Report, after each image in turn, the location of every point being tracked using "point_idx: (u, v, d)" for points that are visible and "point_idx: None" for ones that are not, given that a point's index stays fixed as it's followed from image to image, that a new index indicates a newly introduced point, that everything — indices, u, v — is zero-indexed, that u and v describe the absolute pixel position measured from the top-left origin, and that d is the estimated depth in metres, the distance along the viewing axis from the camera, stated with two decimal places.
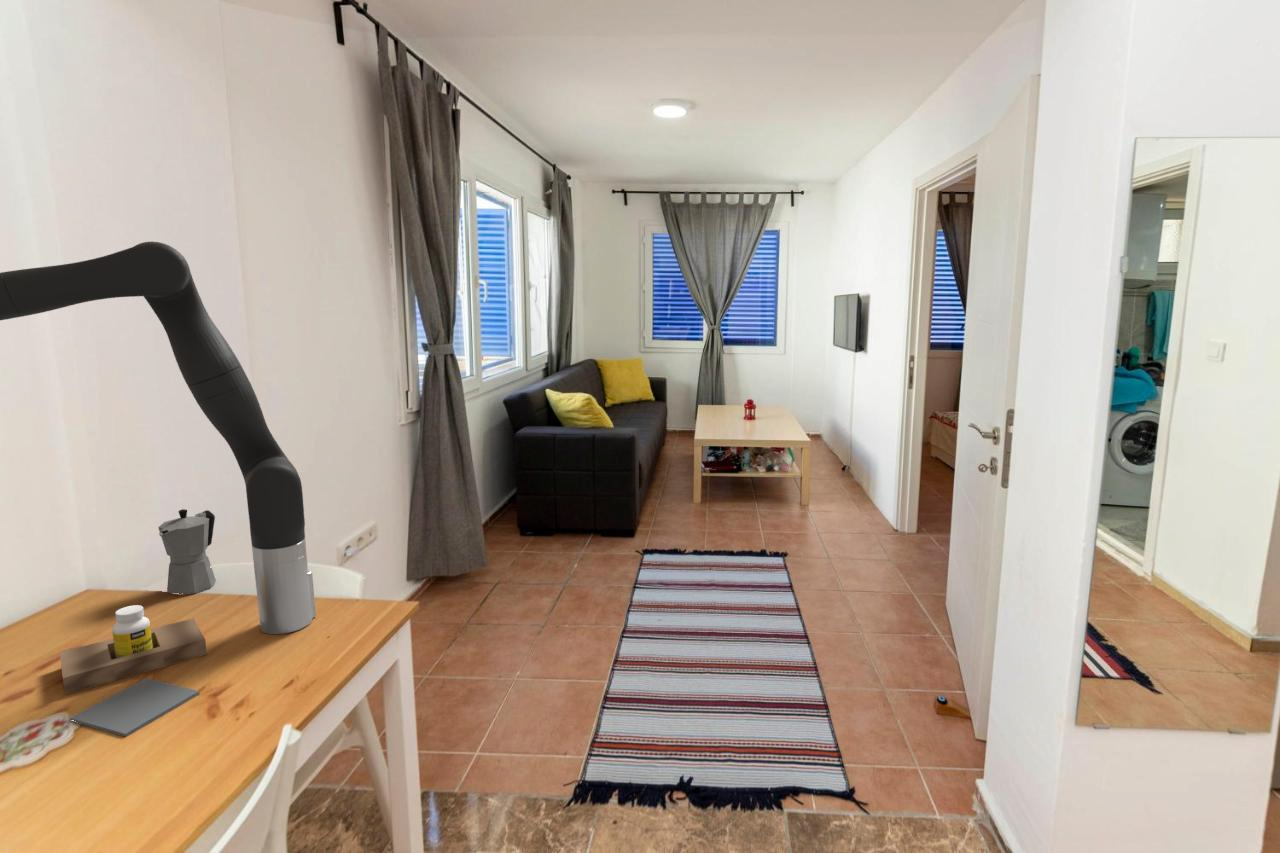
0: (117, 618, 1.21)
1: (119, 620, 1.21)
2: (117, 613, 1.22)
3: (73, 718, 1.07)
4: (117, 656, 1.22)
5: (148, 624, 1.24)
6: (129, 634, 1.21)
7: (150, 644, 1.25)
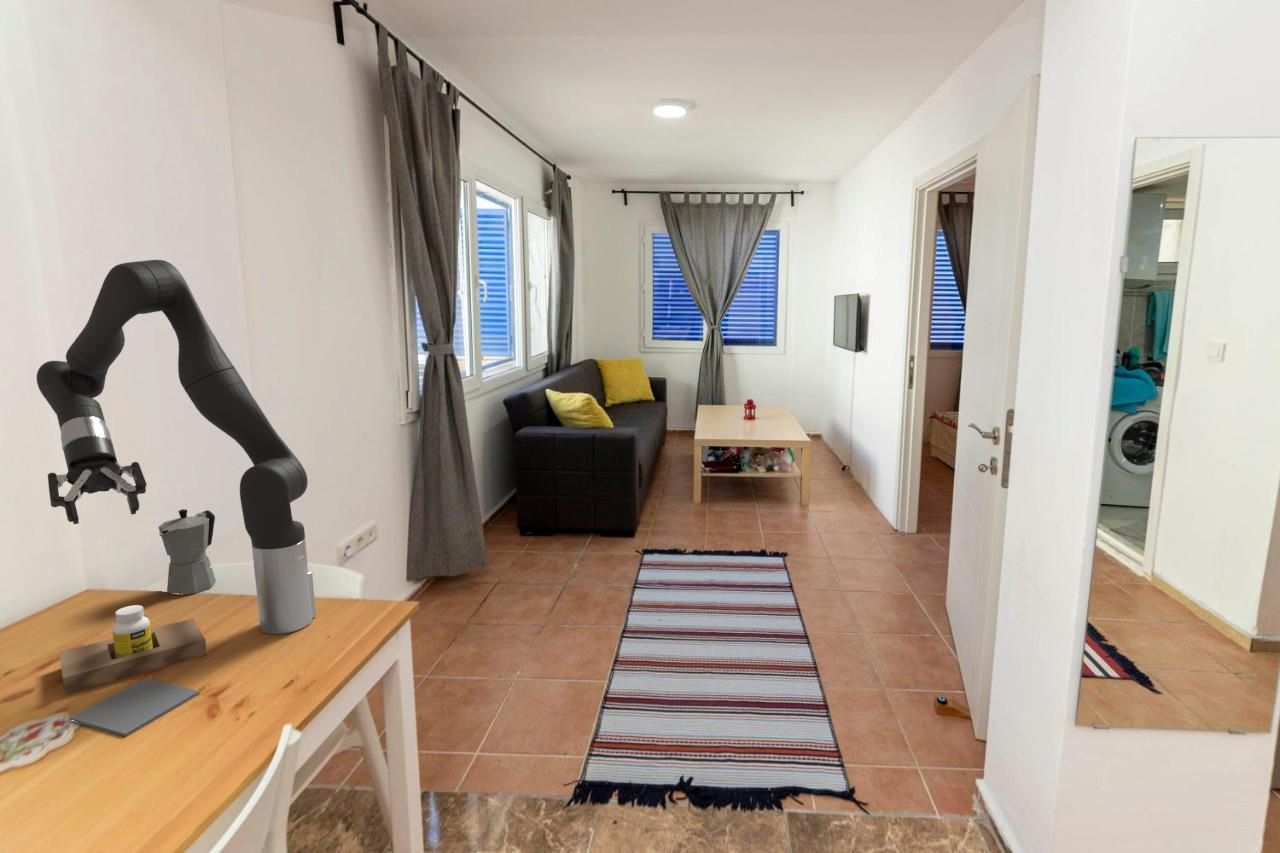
0: (117, 618, 1.21)
1: (119, 620, 1.21)
2: (117, 613, 1.22)
3: (73, 718, 1.07)
4: (117, 656, 1.22)
5: (148, 624, 1.24)
6: (129, 634, 1.21)
7: (150, 644, 1.25)
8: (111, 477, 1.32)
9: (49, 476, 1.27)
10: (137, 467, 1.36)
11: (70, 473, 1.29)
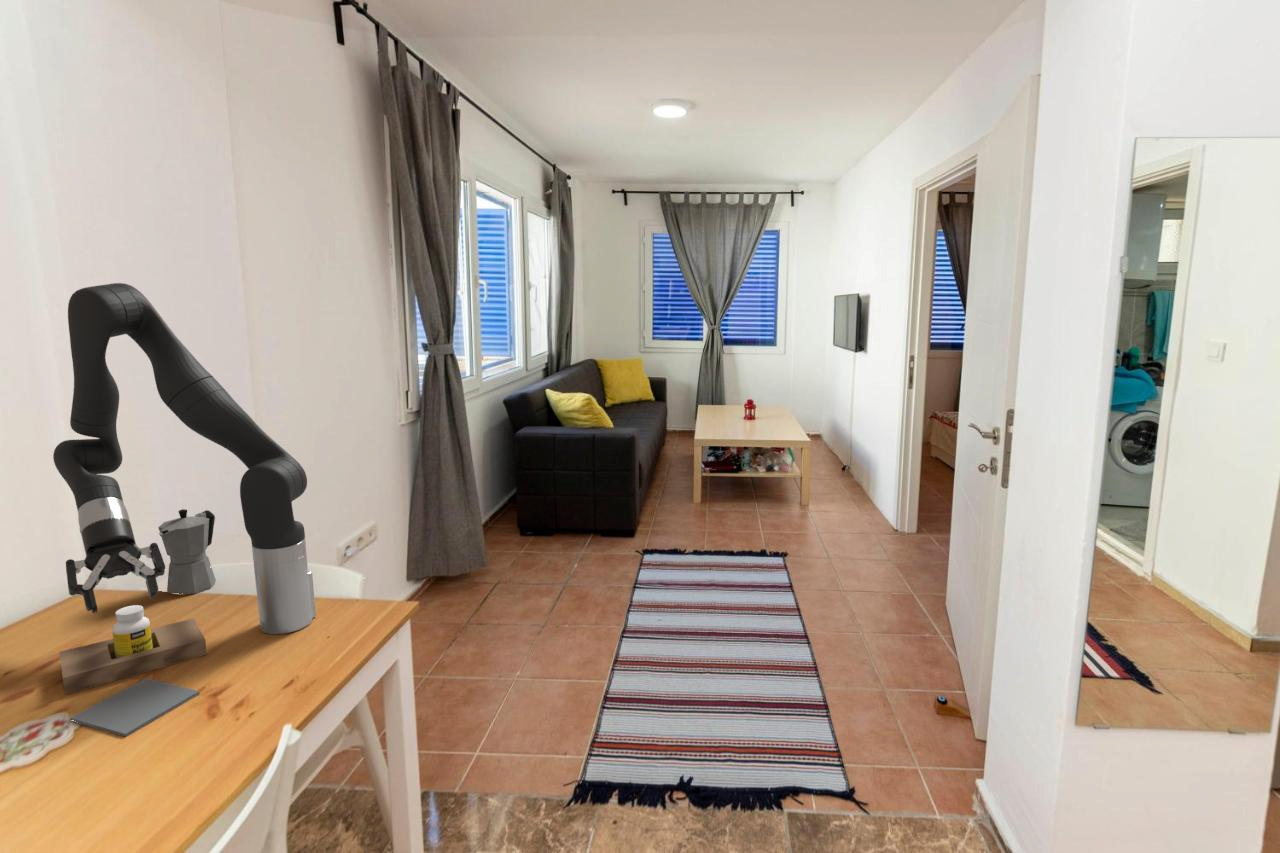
0: (117, 618, 1.21)
1: (119, 620, 1.21)
2: (117, 613, 1.22)
3: (73, 718, 1.07)
4: (117, 656, 1.22)
5: (148, 624, 1.24)
6: (129, 634, 1.21)
7: (150, 644, 1.25)
8: (129, 561, 1.29)
9: (67, 563, 1.24)
10: (156, 548, 1.33)
11: (88, 559, 1.26)
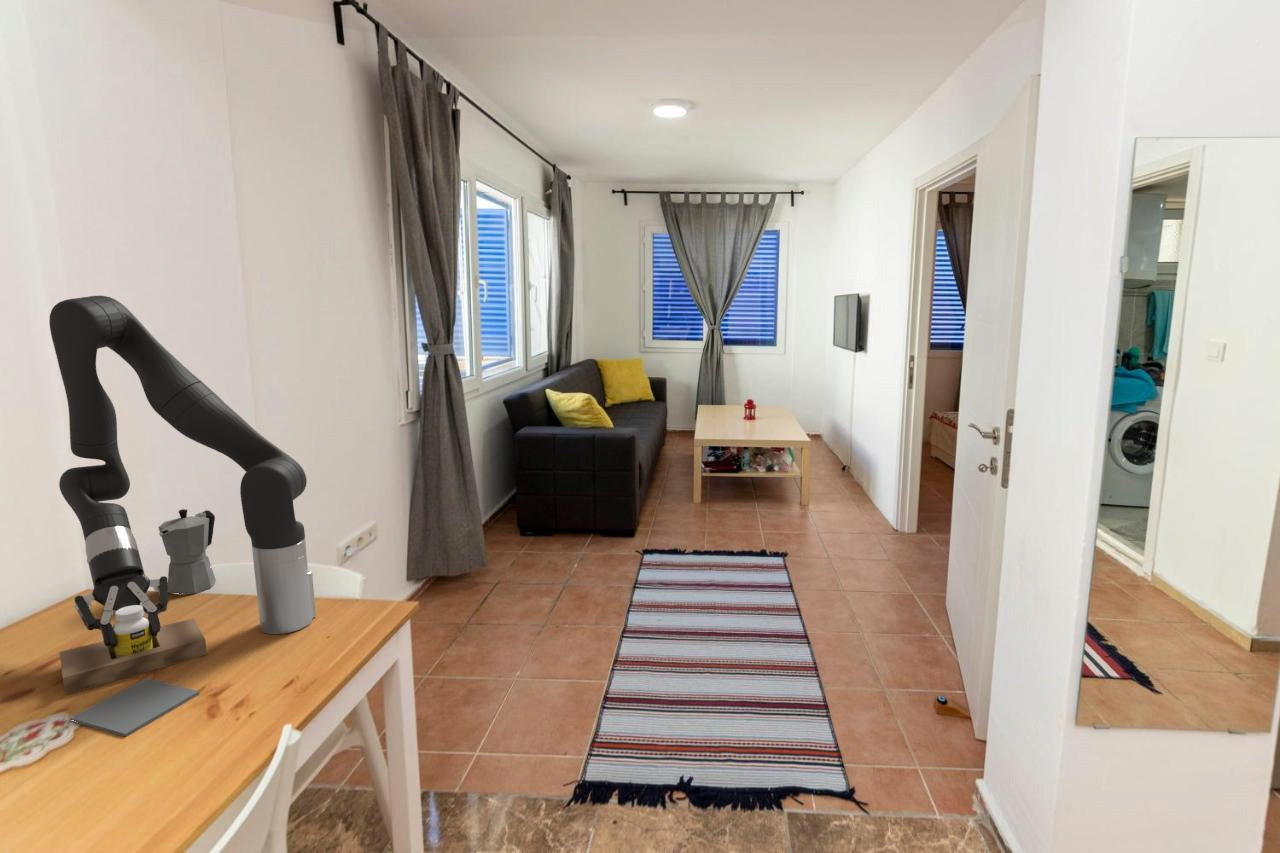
0: (117, 618, 1.21)
1: (119, 620, 1.21)
2: (117, 613, 1.22)
3: (73, 718, 1.07)
4: (117, 656, 1.22)
5: (148, 624, 1.24)
6: (129, 634, 1.21)
7: (150, 644, 1.25)
8: (135, 593, 1.25)
9: (76, 600, 1.21)
10: (165, 582, 1.29)
11: (96, 591, 1.23)
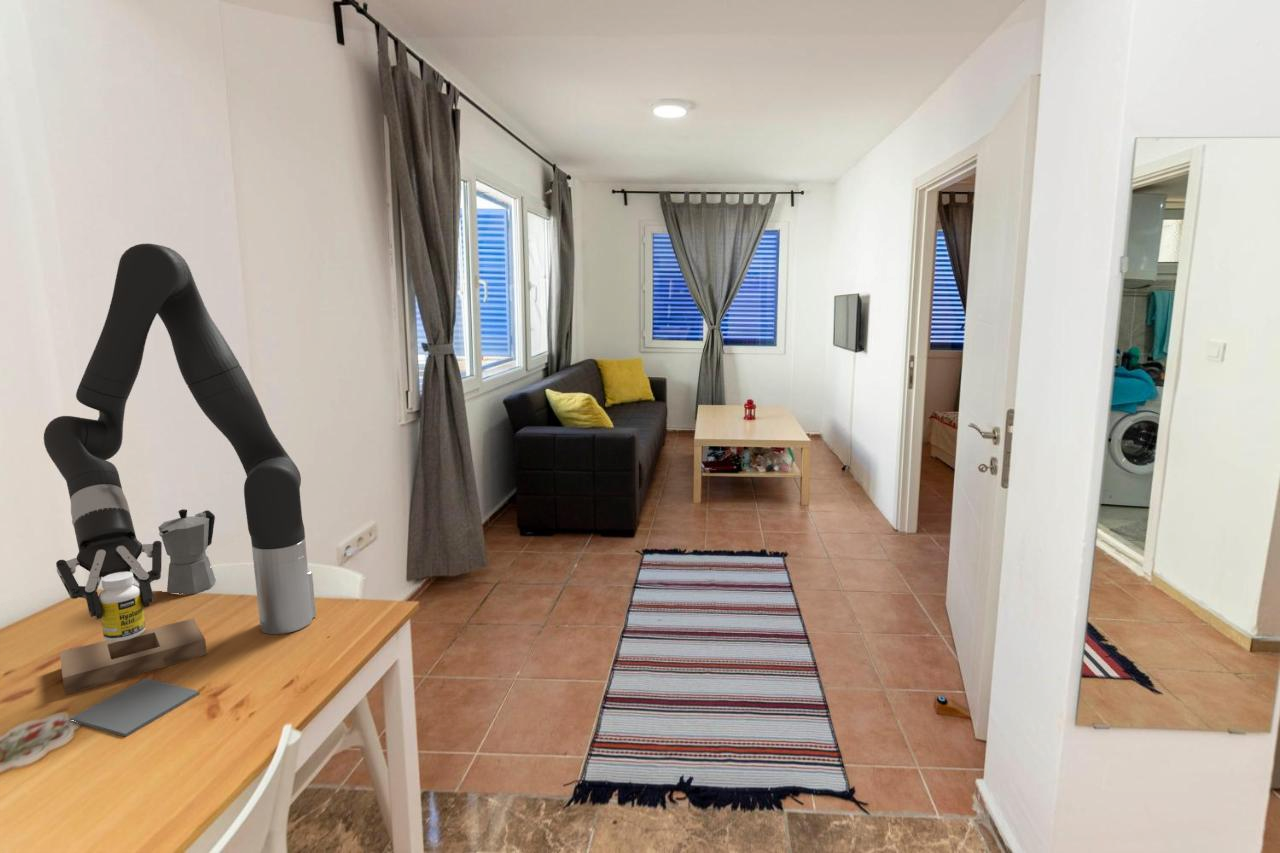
0: (103, 585, 1.08)
1: (105, 587, 1.07)
2: (103, 580, 1.08)
3: (73, 718, 1.07)
4: (104, 628, 1.08)
5: (139, 593, 1.10)
6: (117, 603, 1.08)
7: (141, 615, 1.11)
8: (125, 559, 1.12)
9: (58, 565, 1.07)
10: (159, 547, 1.16)
11: (81, 555, 1.10)
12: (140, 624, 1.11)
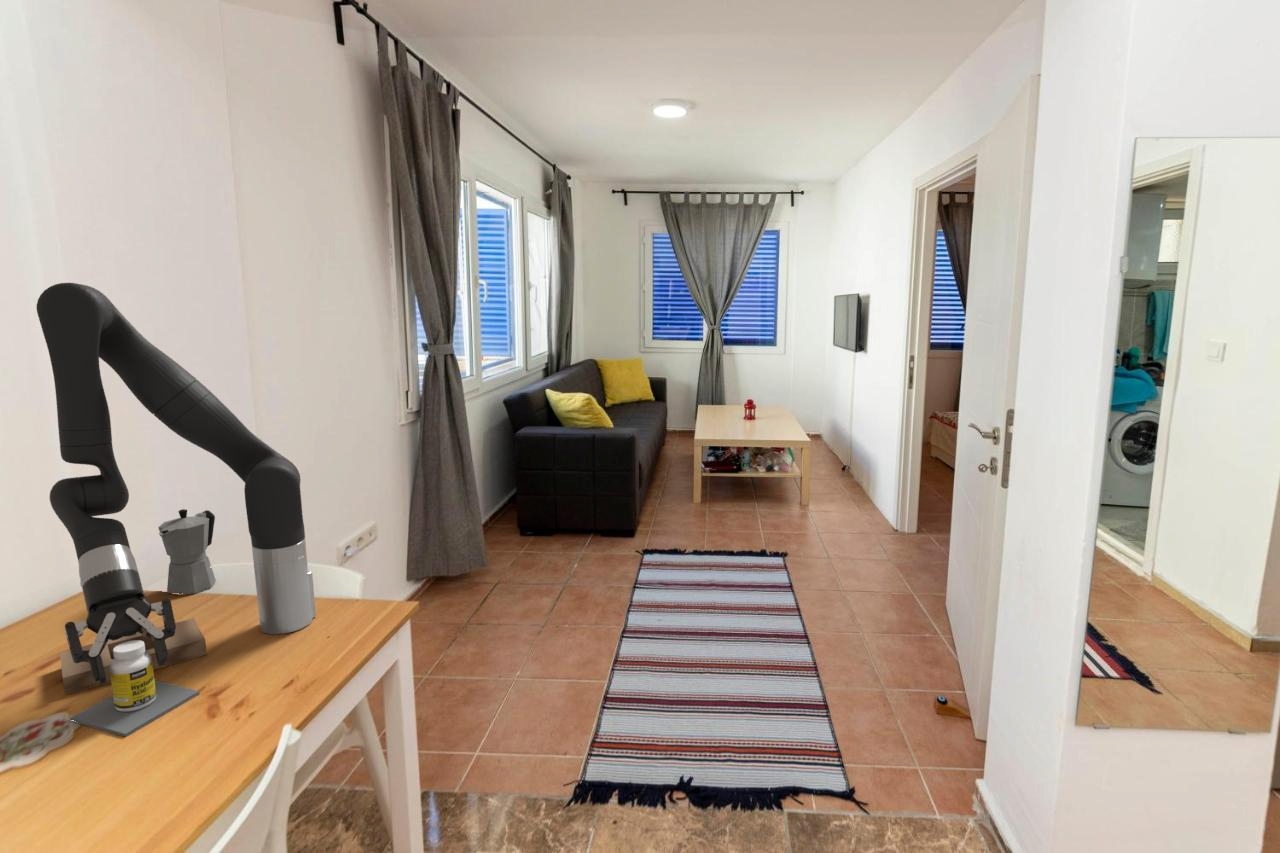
0: (115, 656, 1.08)
1: (117, 658, 1.08)
2: (115, 650, 1.08)
3: (73, 718, 1.07)
4: (115, 698, 1.08)
5: (150, 662, 1.11)
6: (129, 674, 1.08)
7: (152, 684, 1.11)
8: (137, 620, 1.12)
9: (67, 627, 1.07)
10: (168, 604, 1.16)
11: (90, 619, 1.09)
12: (151, 692, 1.11)
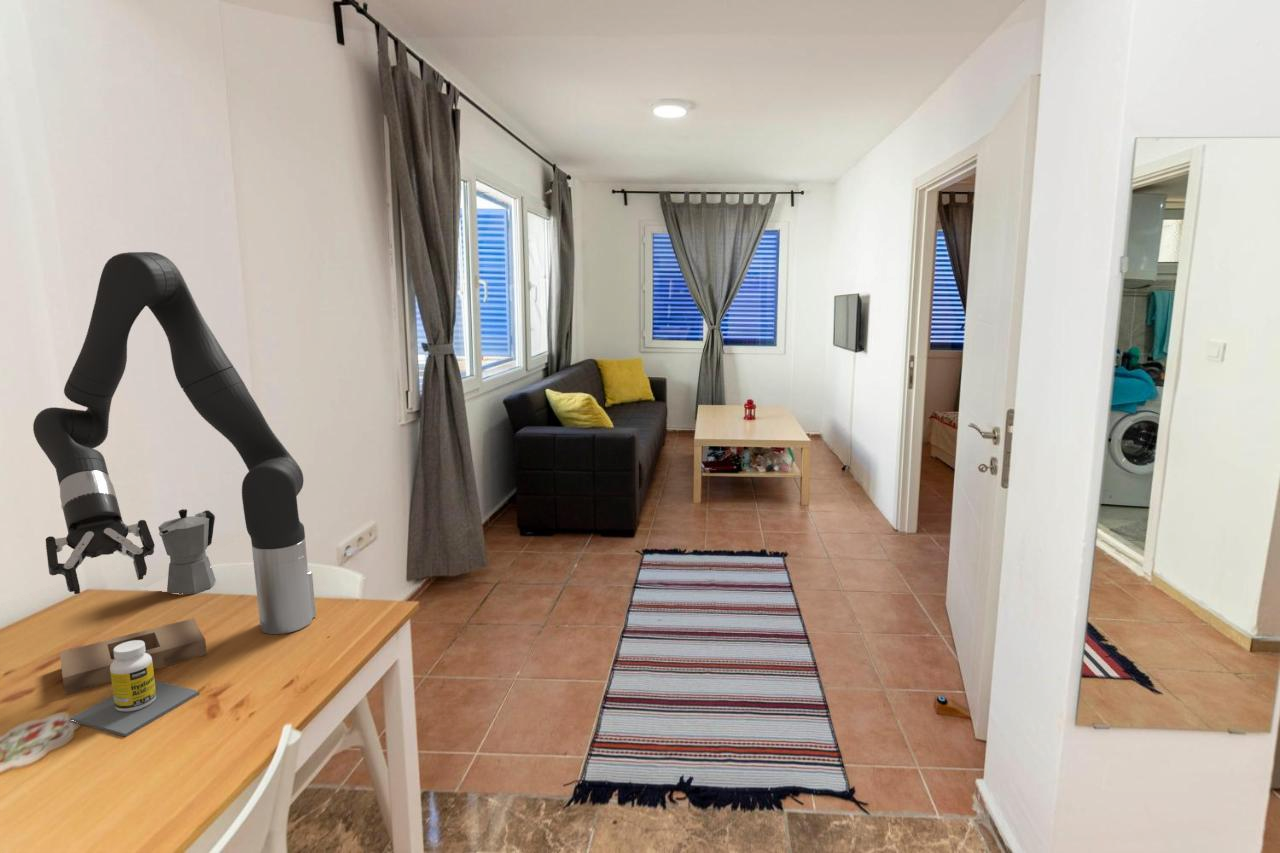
0: (115, 656, 1.08)
1: (117, 658, 1.08)
2: (115, 650, 1.08)
3: (73, 718, 1.07)
4: (115, 698, 1.08)
5: (150, 662, 1.11)
6: (129, 674, 1.08)
7: (152, 684, 1.11)
8: (115, 539, 1.19)
9: (47, 541, 1.14)
10: (144, 525, 1.23)
11: (70, 536, 1.17)
12: (151, 693, 1.11)
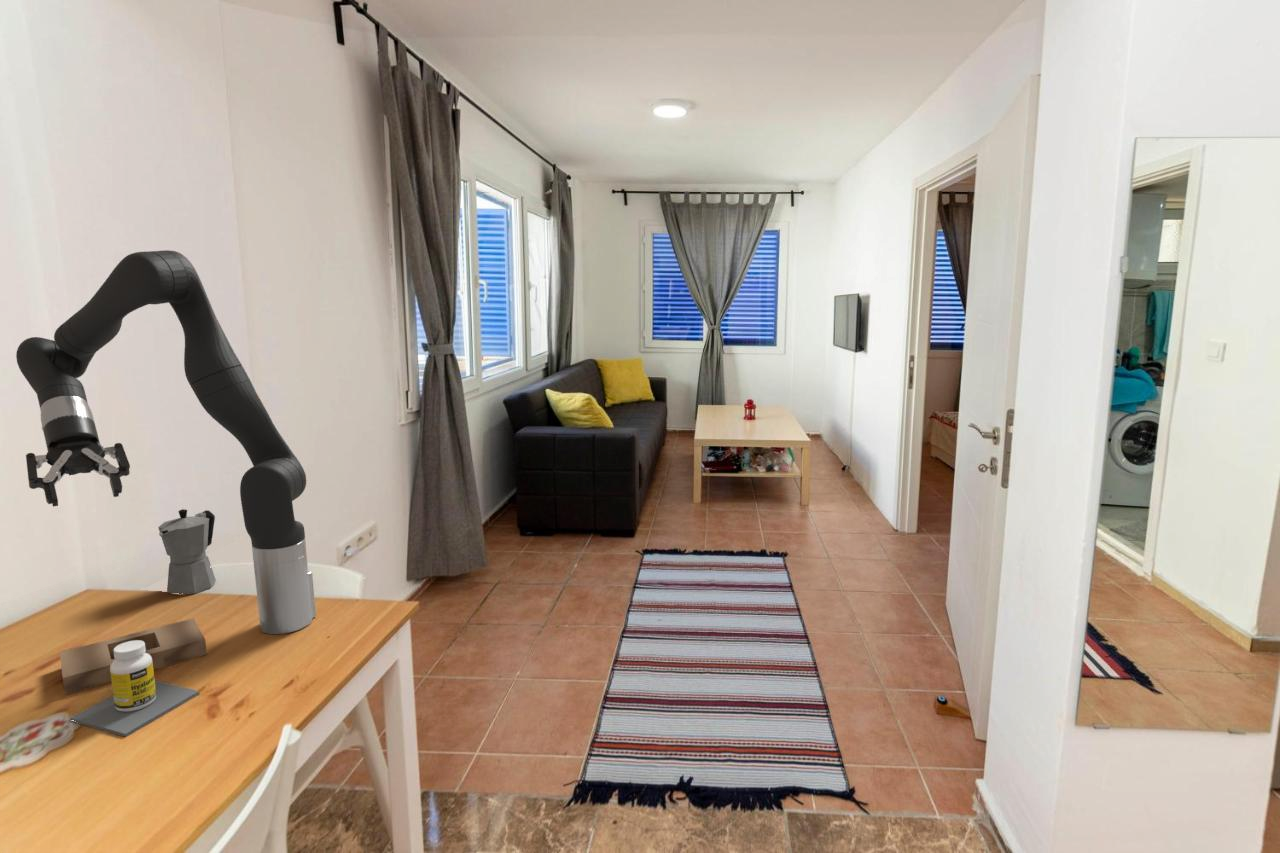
0: (115, 656, 1.08)
1: (117, 658, 1.08)
2: (115, 650, 1.08)
3: (73, 718, 1.07)
4: (115, 698, 1.08)
5: (150, 662, 1.11)
6: (129, 674, 1.08)
7: (152, 684, 1.11)
8: (92, 458, 1.26)
9: (27, 456, 1.22)
10: (121, 448, 1.31)
11: (50, 454, 1.24)
12: (151, 693, 1.11)
